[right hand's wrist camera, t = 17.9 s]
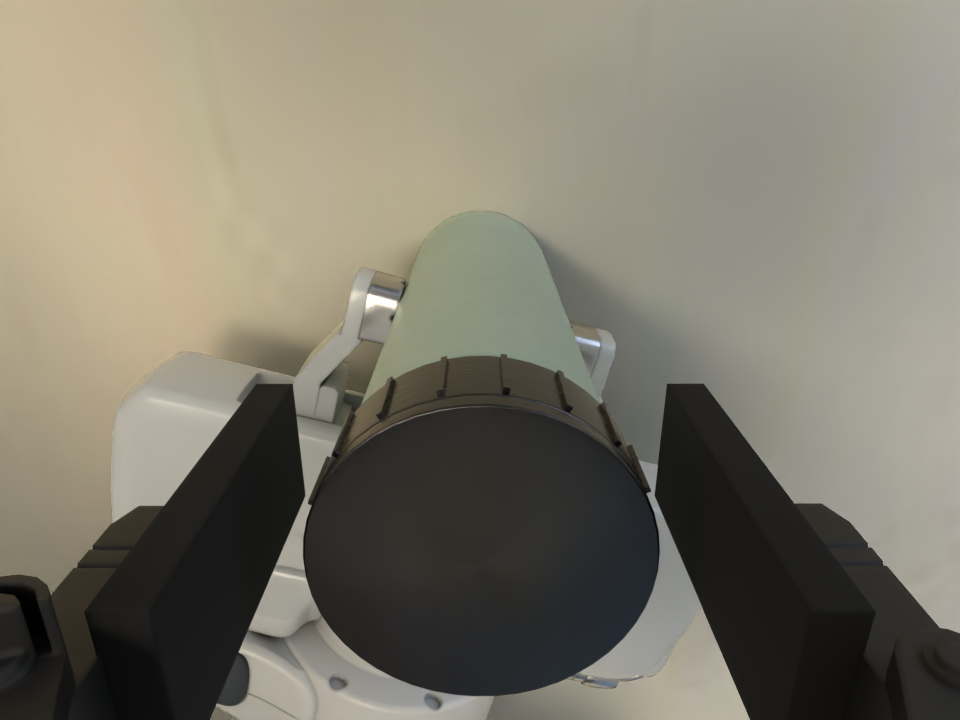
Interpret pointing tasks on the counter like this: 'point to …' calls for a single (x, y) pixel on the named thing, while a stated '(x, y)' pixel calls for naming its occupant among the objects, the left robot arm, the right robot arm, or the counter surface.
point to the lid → (481, 529)
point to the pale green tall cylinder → (480, 303)
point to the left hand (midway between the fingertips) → (486, 303)
